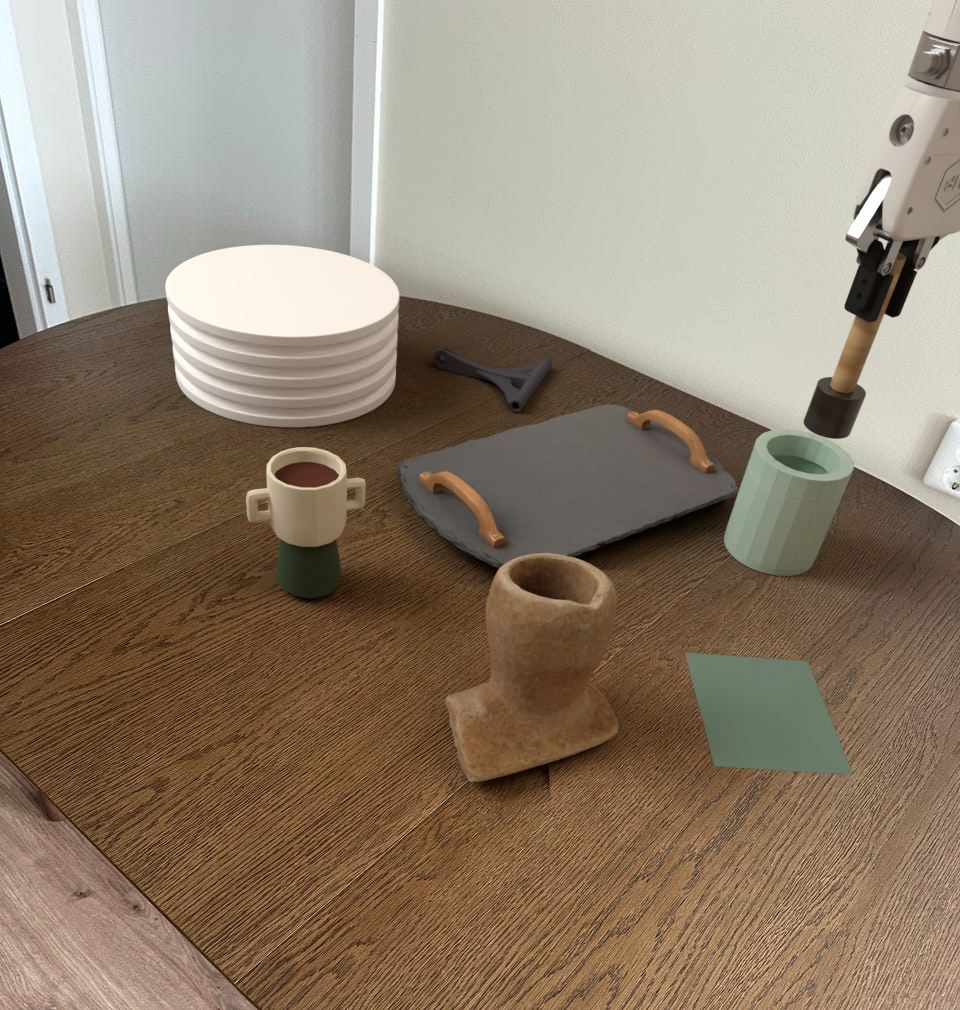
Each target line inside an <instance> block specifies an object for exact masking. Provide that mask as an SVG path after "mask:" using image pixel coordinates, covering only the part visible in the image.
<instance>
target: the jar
mask: <svg viewBox="0 0 960 1010" xmlns="http://www.w3.org/2000/svg"><path fill="white" fill-rule="evenodd" d="M854 469H855V461H854V460H853V459H852V457H851V455H850V454H849V453H848V452H847V451H846V450H845V449H844V448H843V447H842V446H841V445H839V444H837V443H835V442H834V441H832V440H830V439H829V438H826V437H822V436H819V435H817V434H815V433H813V432H808V431H804V430H799V429H788V428H782V429H771V430H768V431H765V432H762V433H761V434H760V435H759V436H758V437H756V439H755V442H754V444H753V448H752V450H751V454H750V457H749V460H748V463H747V466H746V469H745V472H744V474H743V477H742V481H741V484H740V486H739V488H738V489H739V492H738V494H737V495H736V498H735V501H734V504H733V507H732V510H731V513H730V516H729V519H728V522H727V525H726V528H725V532H724V534H723V543H724V546H725V549H726V550H727V552H728V553H729V554H730V555H731V556H732V557H733V558H734V559H735V560H736V561H737V562H739V563H740V564H742V565H743V566H745V567H748V568H749V569H751V570H754V571H755V572H756V571H757V572H758V573H759V572H760V573H762V574H765V575H771V576H777V577H792V576H793V577H794V576H798V575H801V574H804V573H807V572H808V571H809V570H810V569H811V568H812V566H813V565H814V562H815V560H816V559H817V557H818V554H819V552H820V550H821V548H822V545H823V544H824V541H825V538H826V536H827V534H828V531H829V529H830V526H831V524H832V522H833V519H834V518H835V515H836V512H837V510H838V508H839V505H840V504H841V500H842V497H843V495H844V494H845V492H846V489H847V486H848V484H849V481H850V479H851V477H852V475H853V472H854Z"/></svg>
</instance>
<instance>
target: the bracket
mask: <svg viewBox="0 0 960 1010" xmlns="http://www.w3.org/2000/svg"><path fill="white" fill-rule="evenodd" d="M441 357H442V358H443V359H442V358H441ZM432 362H433V364H434V366H436V367H437V368H439V369H441V370H444V371H447V372H452V373H455V374H460V375H463V376H467V377H471V378H475V379H478V380H483V381H487V382H489V383H493V384H495V385H496V386H497V387H498V389H500V390H501V392H502V393H503V394H504V396H505V399H506V402H507V405H508V406H509V409H510V410H511V412H513V413H520V412H521V411H522V409H524V406H526V404H527V402H528V401H529V400H530V398H531V397H532V395H533V394H534V393H535V392H536V390H537V389H538V387H539V386H540V384H541V383H542V381H543V380H544V378H545V377H546V375H547V374H548V373H549V371H550V370H551V368H553V362H552V360H551V358H548V357H544V358H542V360H541V361H540V362H536V363H533V364H530V365H526V366H521V367H513V368H512V367H511V368H502V367H501V368H499V367H489V366H486V365H484V364H481V363H479V362H477V361H473V360H471V359H470V358H467V357H465V356H464V355H461V354H460V353H458V352H455V351H453V349H450V348H449V347H447V346H441V347H440V348H438V349H437V350H436V351H435V352H434V354H433V355H432Z"/></svg>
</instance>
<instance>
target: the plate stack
mask: <svg viewBox="0 0 960 1010" xmlns="http://www.w3.org/2000/svg"><path fill="white" fill-rule="evenodd" d="M164 288H165V295H166V301H167V310H168V311H167V312H168V319H169V324H170V327H169V329H170V330H169V331H170V336H171V338H170V339H171V342H172V354H173V355H172V356H173V361H174V371H175V379H176V382H177V385H178V387H179V389H180V390H181V392H182V393H183V394H184V395H185V397H186V398H188V399H189V400H190V401H191V402H193V403H194V404H195V405H197V406H198V407H200V408H202V409H203V410H206V411H208V412H210V413H213V414H214V415H218V416H220V417H222V418H226V419H229V420H232V421H236V422H238V423H239V422H240V423H244V424H249V425H254V426H255V425H256V426H262V427H270V428H272V427H273V428H312V427H321V426H329V425H333V424H338V423H339V424H340V423H343V422H347V421H349V420H353V419H357V418H359V417H361V416H364V415H366V414H368V413H369V412H372V411H374V410H376V409H377V408H378V407H380V406H381V405H383V404H384V403H385V402H386V401H387V400H388V399H389V398H390V396H392V393H393V391H394V389H395V386H396V379H397V368H396V367H397V358H398V357H397V355H398V351H397V348H398V334H399V333H398V328H399V309H400V290H399V288H398V286H397V284H396V283H395V281H394V280H393V279H392V278H391V277H390V276H389V274H387V273H386V272H385V271H383V270H381V269H380V268H378V267H377V266H375V265H373V264H371V263H368V262H367V261H364V260H362V259H359V258H356V257H353V256H351V255H347V254H344V253H340V252H338V251H337V252H336V251H332V250H327V249H322V248H316V247H310V246H302V245H290V244H251V245H241V246H240V245H239V246H232V247H225V248H220V249H216V250H212V251H209V252H208V251H207V252H205V253H201V254H198V255H195V256H194V257H192V258H189V259H187V260H185V261H183V262H181V263H180V264H178V265H176V267H175V268H173V270H171V272H170V273H169V274H168V276H167V278H166V281H165V286H164Z"/></svg>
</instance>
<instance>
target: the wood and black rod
mask: <svg viewBox="0 0 960 1010" xmlns="http://www.w3.org/2000/svg"><path fill="white" fill-rule="evenodd" d="M905 261H906V256H905V255H903V254H901V253H899V252H898V255H897V257H896V260H895V262H894V265H893V267H892V269H891V271H890V272H889V274H891V275H893V276H894V277H893V280H892V283H891V285H890V288H889V290H888V293H887V295H886V298H885V300H884V303H883V306H882V308H881V311H880V313H879V316H878V318H877V320H876V321H874V322H867V321H865V320H863V319H862V318H860V317H858V316H856V315H854V319H853V322H852V324H851V327H850V330H849V332H848V335H847V337H846V341H845V343H844V346H843V348H842V351H841V353H840V356H839V359H838V360H837V361H838V362H837V364H836V367H835V369H834V373H833V375H832V376H826V377H821V378H820V379H819V380H818V381H817V383H816V386H815V388H814V391H813V393H812V396H811V399H810V402H809V404H808V407H807V409H806V412H805V415H804V418H803V425H804V428H806V429H807V430H808V431H809V432H810V433H812V434H816V435H818V436H821V437H823V438H826V439H833V440H841V439H845V438H848V437H849V436H850V435H851V433H852V431H853V428H854V426H855V423H856V421H857V418H858V416H859V414H860V410H861V408H862V406H863V403H864V401H865V398H866V396H867V392H866V390H865V389H864V388H863V386H861V385H860V384H858V382H859V380H860V377H861V374H862V372H863V370H864V367H865V365H866V362H867V359H868V356H869V354H870V352H871V349H872V346H873V344H874V342H875V340H876V337H877V334H878V331H879V329H880V327H881V324H882V321H883V319H884V316H885V315H886V314H885V311H886V309H887V306H888V304H889V301H890V299H891V296H892V294H893V291H894V289H895V286H896V283H897V281H898V278H899V276H900V273H901V271H902V268H903V266H904V263H905Z"/></svg>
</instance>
